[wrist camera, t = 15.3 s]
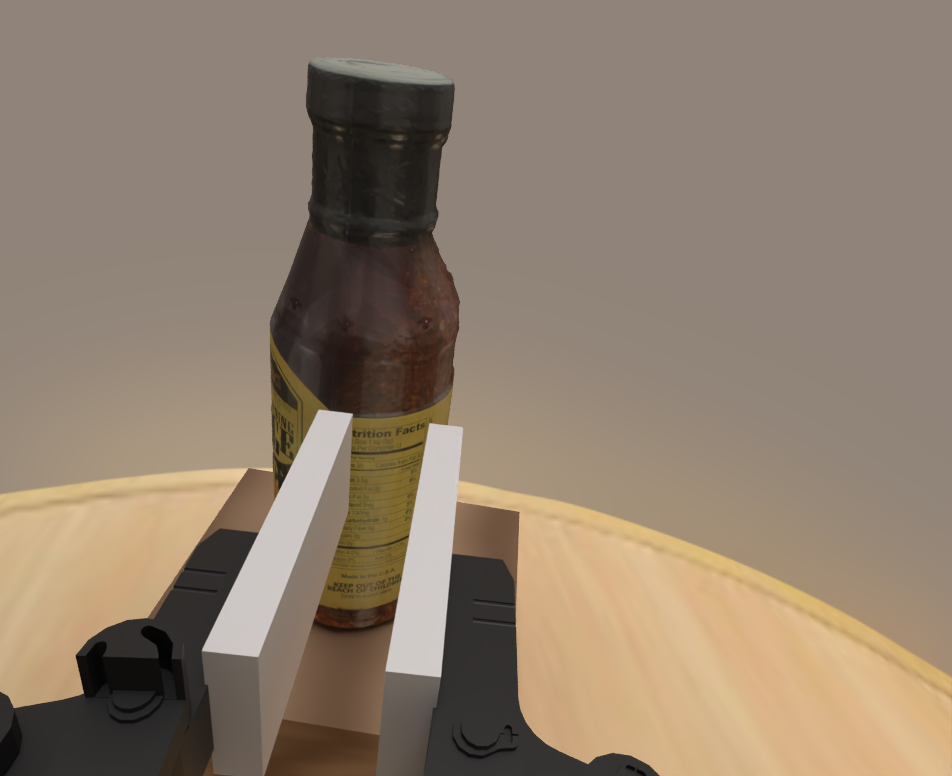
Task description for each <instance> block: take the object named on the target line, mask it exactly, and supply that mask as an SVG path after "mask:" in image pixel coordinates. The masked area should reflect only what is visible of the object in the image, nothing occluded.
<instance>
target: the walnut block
mask: <svg viewBox="0 0 952 776" xmlns="http://www.w3.org/2000/svg"><path fill="white" fill-rule="evenodd" d="M273 503H274V474H273V472H269V471H263V470H256V469H250V468H249V469H248V470H247V472H246V473H245V475H244V476H243V477H242V479H241V480H240V482H239V483H238V485H237V486H236V488H235V489H234V491H233V492H232V494H231V495H230V497H229V498H228V500H227V501H226V503H225V504H224V506H223V507H222V509H221V510H220V512H219V513H218V515H217V516H216V518H215V519H214V520H213V522H212V523H211V525H210V526H209V528H208V529H207V531H206V532H205V534H204V535H203V537H202V538H201V540H200V541H199V543H198V544H197V546H198V545H199V544H200V543H201V542H203V541H204V540H205V539H207V538H208V537H209V536H210V535H212V534H213V533H214V532H216V531H217V530H218V529H219V528H222V529H231V530H239V531H248V532H257V533H259V532H260V530H261V528H262V526H263V524H264V521H265V519H266V517H267V515H268V513H269V511H270V509H271V507H272V505H273ZM518 535H519V512H516V511H510V510H504V509H498V508H491V507H485V506H479V505H473V504H467V503H461V502H456V513H455V524H454V535H453V547H452V554H460V555H468V556H477V557H485V558H494V559H503V561H504V563H505V564H506V566H507V568H508V570H509V572H510V574H511V575H512V577H513V579H514V583H515V614H516V588H517V562H518ZM197 546H196V547H197ZM196 547H195V549H196ZM195 549H194V550H195ZM194 550H193V552H194ZM193 552H192V553H191V555H192V554H193ZM191 555H190V556H189V558H188V559H187V561H186V562H185V564H184V565H183V566H182V568H181V569H180V571H179V572H178V574H177V575H176V577H175V578H174V580H173V581H172V583H171V584H170V586H169V587H168V589H167V590H166V592H165V593H164V595H163V596H162V598H161V599H160V601H159V602H158V604H157V605H156V607H155V608H154V609H153V611H152V612H151V614H150V615H149V617H148V618H150V619H154V617H155V616H156V614H157V612H158V611H159V609H160V607H161V606H162V604H163V602H164V601H165V599H166V597H167V596H168V594H169V592H170V591H171V590H173V587H174V584H175V582H176V581H177V579H178V577H179V576H180V574H181V572H183V571H184V567H185V565H186V564H187V562H188V560H189V559H190V557H191ZM394 620H395V618H394V619H391V620H388V621H386V622H383V623H380V624H379V625H376V626H374V625H371V626H369V627H364V628H352V629H346V628H337V627H329V626H326V625H324V624H322V623H319V622H317V621H315V620H314V621H313V624H312V627H311V630H310V633H309V636H308V640H307V643H306V646H305V649H304V652H303V655H302V658H301V662H300V665H299V668H298V671H297V674H296V677H295V680H294V684H293V687H292V690H291V693H290V696H289V699H288V702H287V706H286V709H285V712H284V715H283V718H282V721H281V724H280V728H279V731H278V734H277V737H276V740H275V743H274V747H273V750H272V753H271V756H270V759H269V762H268V765H267V769H266V772H265V775H264V776H376V769H377V758H378V747H379V736H380V725H381V714H382V703H383V692H384V681H385V670H386V665H387V659H388V654H389V648H390V642H391V637H392V631H393V625H394ZM203 776H228V775H219V774H214V773H213V763H212V755H211V757H210V760H209V762H208V765H207V767H206V770H205V772H204V775H203Z"/></svg>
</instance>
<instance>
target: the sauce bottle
mask: <svg viewBox="0 0 952 776" xmlns="http://www.w3.org/2000/svg"><path fill="white" fill-rule="evenodd" d="M454 90H455V88H454V83H453V80H452V78H450V77H448V76H446V75H443V74H440V73H437V72H432V71H427V70H424V69H419V68H414V67H411V66H405V65H404V66H403V65H399V64H392V63H385V62H378V61H368V60H366V59H346V58H325V57H319V58H313V59H312V60H311V61H310V62H309V65H308V86H307V94H306V108H307V112H308V115H309V118H310V119H311V122H312V125H313V153H312V160H313V168H312V176H313V178H312V195H311V199H310V201H309V202H308V210H309V214H310V217H309V220H308V223H307V226H306V228H305V231H304V234H303V237H302V239H301V242H300V245H299V248H298V251H297V253H296V256H295V259H294V262H293V265H292V267H291V270H290V273H289V275H288V278H287V280H286V283H285V285H284V287H283V290H282V292H281V295H280V297H279V300H278V303H277V305H276V307H275V310H274V312H273V315H272V317H271V321H270V359H271V360H270V361H271V393H272V406H271V411H272V442H273V474H274V501H275V499H276V497H277V495H278V493H279V491H280V489H281V486H282V484H283V482H284V480H285V478H286V476H287V474H288V472H289V470H290V468H291V466H292V464H293V462H294V460H295V458H296V456H297V454H298V451H299V449H300V447H301V445H302V443H303V441H304V439H305V437H306V435H307V433H308V431H309V429H310V427H311V425H312V423H313V421H314V419H315V417H316V414H317V412H318V410H326V411H334V412H342V413H350V414H353V421H352V443H351V466H350V488H349V510H348V514H347V517H346V520H345V523H344V526H343V529H342V533H341V536H340V539H339V542H338V545H337V548H336V551H335V555H334V558H333V561H332V564H331V567H330V570H329V573H328V577H327V580H326V583H325V586H324V589H323V592H322V595H321V599H320V602H319V605H318V608H317V611H316V614H315V618H314V620H315V621H317V622H319V623H322V624H324V625H326V626H329V627H337V628H346V629H352V628H364V627H369V626H371V625H374V626H376V625H379V624H380V623H383V622H386V621H388V620H391V619H394V618H395V614H396V609H397V603H398V597H399V592H400V586H401V580H402V575H403V569H404V564H405V558H406V552H407V547H408V541H409V535H410V530H411V524H412V519H413V513H414V507H415V502H416V496H417V491H418V485H419V479H420V474H421V468H422V462H423V457H424V451H425V446H426V440H427V434H428V429H429V423H431V424H439V425H448V419H449V412H450V404H451V397H452V389H453V379H454V367H453V358H454V347H455V342H456V337H457V333H458V331H459V317H458V316H459V315H458V314H459V304H460V301H459V297H458V294H457V291H456V289H455V286H454V281H453V277H452V274H451V273H450V272H448V271H447V268H446V264H445V263H444V262H443V260H442V258H441V256H440V254H439V249H438V247H437V245H436V242H435V241H434V238H433V235H432V231H433V230H434V228H435V225H436V222H437V218H438V210H437V208H436V199H437V190H438V180H439V168H440V160H441V152H442V147H443V145H444V144H445V143H446V141H447V139H448V134H449V131H450V129H451V121H452V111H453V102H454Z"/></svg>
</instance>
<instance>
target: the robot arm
mask: <svg viewBox="0 0 952 776" xmlns="http://www.w3.org/2000/svg"><path fill="white" fill-rule="evenodd" d="M352 421H353V414H350V413H342V412H334V411H326V410H318V412H317V414H316V417H315V419H314V421H313V423H312V425H311V427H310V429H309V431H308V433H307V435H306V437H305V439H304V441H303V443H302V445H301V447H300V449H299V451H298V454H297V456H296V458H295V460H294V462H293V464H292V466H291V468H290V470H289V472H288V474H287V476H286V478H285V480H284V482H283V484H282V486H281V489H280V491H279V493H278V495H277V497H276V499H275V501H274V503H273V505H272V507H271V509H270V511H269V513H268V515H267V517H266V519H265V521H264V524H263V526H262V528H261V530H260V532H259V533H257V532H248V531H239V530H231V529H222V528H219V529H218V530H217V531H216V532H214V533H213V534H212V535H210V536H209V537H208V538H207V539H205V540H204V541H203V542H201V543H200V544H199V545H198V546H197V547H196V549H195V550H194V552H193V554H192V555H191V557H190V559H189V560H188V562H187V564H186V565H185V567H184V571H183V572H181V574H180V576H179V577H178V579H177V581H176V582H175V584H174V587H173V590H171V591H170V592H169V594H168V596H167V597H166V599H165V601H164V602H163V604H162V606H161V607H160V609H159V611H158V612H157V614H156V616H155V617H154V619H150V618H144V619H134V620H127V621H124V622H121V623H118V624H116V625H113V626H110V627H107V628H106V629H104V630H103V631H101V632H100V633H98V634H97V635H95V636H94V637H92V638H91V639H89V640H88V641H87V642H86V644H85V645H84V646H83V647H82V648H81V650H80V651H79V652H78V653H77V654H76V659H77V664H78V668H79V673H80V677H81V681H82V686H83V690H84V694H81V695H79V696H75V697H71V698H68V699H64V700H59V701H53V702H47V703H41V704H36V705H30V706H24V707H18V708H13V705H12V703H11V701H10V699H9V697H8V696H7V695H5V694H3V693H1V692H0V776H203V775H204V772H205V770H206V767H207V765H208V762H209V760H210V757H211V755H212V763H213V773H214V774H219V775H228V776H264V775H265V772H266V769H267V765H268V762H269V759H270V756H271V753H272V750H273V747H274V743H275V740H276V737H277V734H278V731H279V728H280V724H281V721H282V718H283V715H284V712H285V709H286V706H287V702H288V699H289V696H290V693H291V690H292V687H293V684H294V680H295V677H296V674H297V671H298V668H299V665H300V662H301V658H302V655H303V652H304V649H305V646H306V643H307V640H308V636H309V633H310V630H311V627H312V624H313V621H314V618H315V614H316V611H317V608H318V605H319V602H320V599H321V595H322V592H323V589H324V586H325V583H326V580H327V577H328V573H329V570H330V567H331V564H332V561H333V558H334V555H335V551H336V548H337V545H338V542H339V539H340V536H341V533H342V529H343V526H344V523H345V520H346V517H347V514H348V510H349V488H350V466H351V443H352ZM462 434H463V427H456V426H448V425H439V424H431V423H429V429H428V434H427V440H426V446H425V451H424V457H423V462H422V468H421V474H420V479H419V485H418V491H417V496H416V502H415V507H414V513H413V519H412V524H411V530H410V535H409V541H408V547H407V552H406V558H405V564H404V569H403V575H402V580H401V586H400V592H399V597H398V603H397V609H396V614H395V620H394V625H393V631H392V637H391V642H390V648H389V654H388V659H387V665H386V670H385V681H384V692H383V703H382V714H381V725H380V736H379V747H378V758H377V769H376V776H660V775H658V774H657V773H656V772H655V771H654V770H653V769H652V768H651V767H650V766H649V765H648V764H646V763H644V762H642V761H640V760H638V759H636V758H634V757H632V756H629V755H622V754H615V753H611V754H607V755H603V756H599V757H596V758H595V759H594V760H593V761H592V762H590V763H589V764H586V763H584V762H582V761H579V760H577V759H575V758H573V757H570V756H568V755H566V754H564V753H562V752H559V751H557V750H556V749H554V748H552V747H550V746H549V745H547V744H545V743H544V742H543V741H542V740H541V739H540V738H538V737H537V736H536V735H535V734H534V733H533V731H532V730H531V729H530V727H529V726H528V725H527V723H526V722H525V720H524V717H523V715H522V713H521V710H520V705H519V700H518V677H517V646H516V627H515V624H516V614H515V583H514V579H513V577H512V575H511V574H510V572H509V570H508V568H507V566H506V564H505V563H504V561H503V559H494V558H485V557H477V556H468V555H460V554H452V547H453V535H454V524H455V513H456V502H457V490H458V479H459V468H460V456H461V444H462Z"/></svg>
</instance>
